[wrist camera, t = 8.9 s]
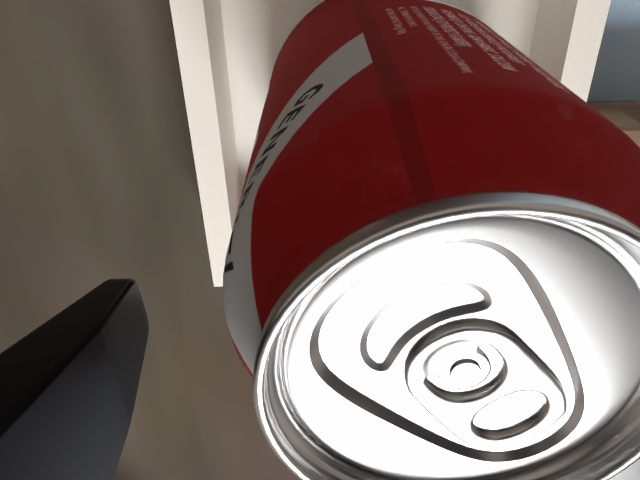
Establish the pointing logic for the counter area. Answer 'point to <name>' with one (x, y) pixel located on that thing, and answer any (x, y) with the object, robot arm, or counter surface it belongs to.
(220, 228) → the rimmed tray
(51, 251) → the counter surface
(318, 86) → the soda can
